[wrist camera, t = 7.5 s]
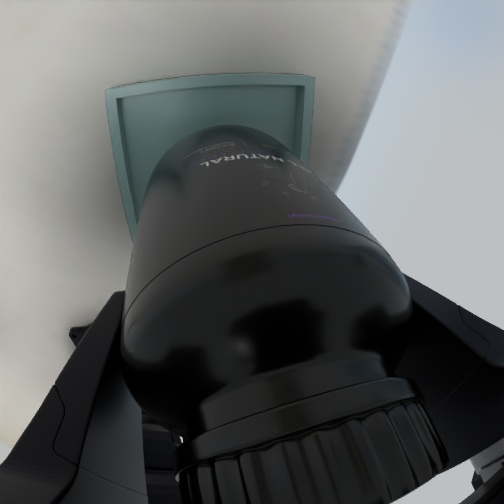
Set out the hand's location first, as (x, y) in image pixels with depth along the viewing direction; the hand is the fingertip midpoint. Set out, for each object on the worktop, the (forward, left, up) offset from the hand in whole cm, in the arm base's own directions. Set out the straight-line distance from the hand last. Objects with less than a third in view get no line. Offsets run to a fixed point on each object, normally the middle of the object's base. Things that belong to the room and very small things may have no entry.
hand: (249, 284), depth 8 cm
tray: (0, 0, -10) cm, 10 cm away
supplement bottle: (0, 0, -6) cm, 6 cm away
